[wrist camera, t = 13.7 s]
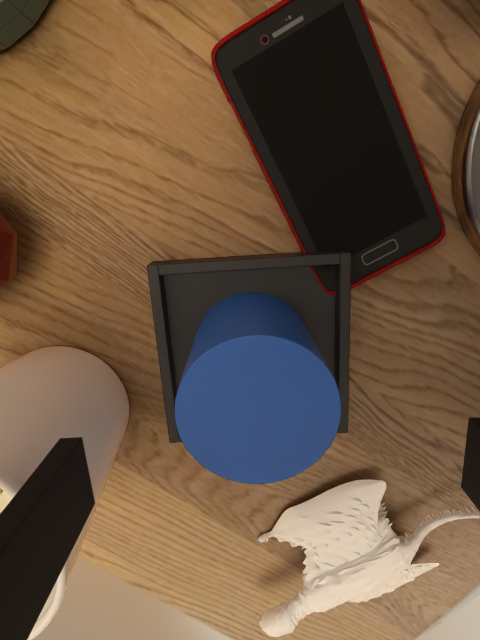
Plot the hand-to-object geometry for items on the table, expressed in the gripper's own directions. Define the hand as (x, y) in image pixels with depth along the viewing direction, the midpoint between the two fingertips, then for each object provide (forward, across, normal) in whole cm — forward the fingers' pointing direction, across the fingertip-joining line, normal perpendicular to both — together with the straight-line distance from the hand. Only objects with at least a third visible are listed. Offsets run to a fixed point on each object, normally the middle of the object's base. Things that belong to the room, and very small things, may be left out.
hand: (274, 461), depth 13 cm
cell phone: (+12, -4, -11) cm, 17 cm away
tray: (+12, 0, 0) cm, 12 cm away
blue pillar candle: (+11, +1, 0) cm, 11 cm away
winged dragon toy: (+12, -7, +15) cm, 20 cm away
